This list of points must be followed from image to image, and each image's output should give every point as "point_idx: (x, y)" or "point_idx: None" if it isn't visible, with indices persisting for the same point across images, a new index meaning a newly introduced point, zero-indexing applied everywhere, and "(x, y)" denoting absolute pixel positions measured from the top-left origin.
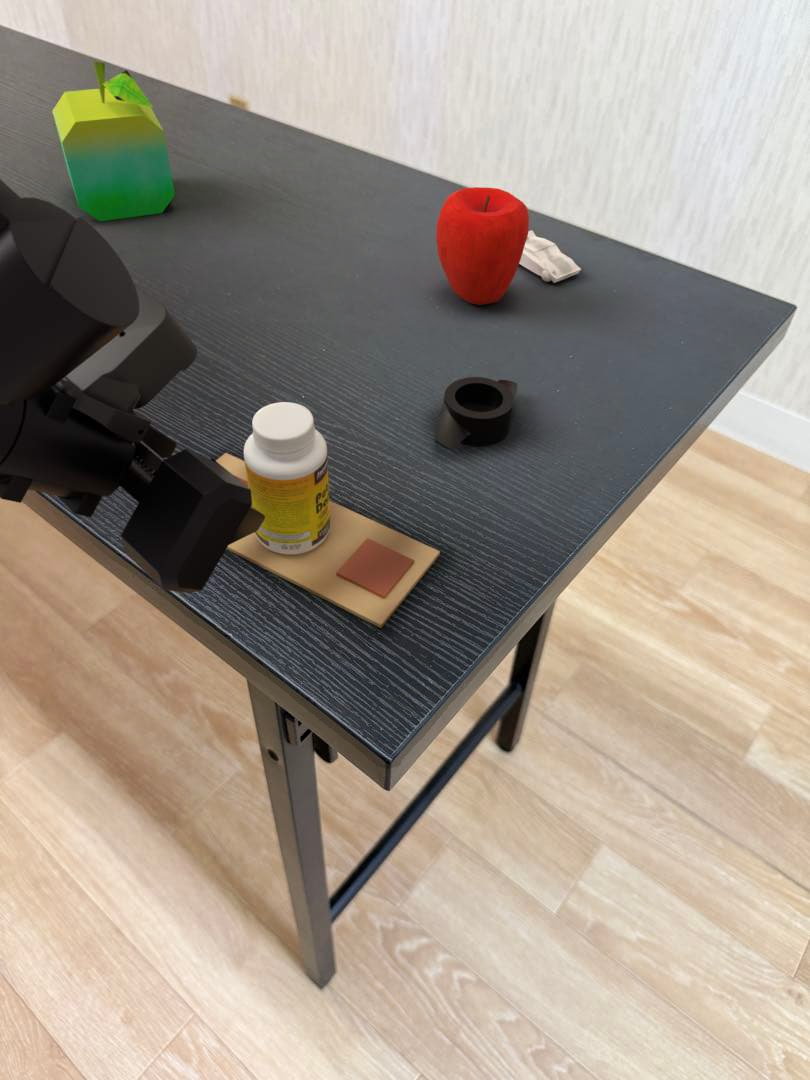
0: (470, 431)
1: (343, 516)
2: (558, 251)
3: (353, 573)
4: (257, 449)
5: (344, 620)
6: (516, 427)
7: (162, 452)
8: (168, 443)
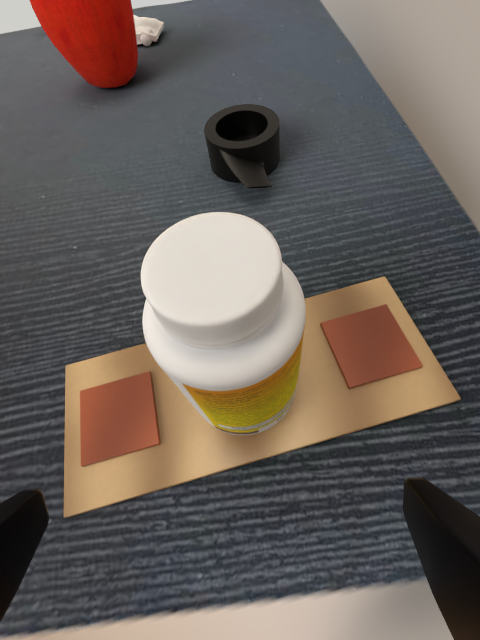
0: (262, 160)
1: None
2: (136, 17)
3: (365, 371)
4: (198, 350)
5: (419, 429)
6: None
7: (27, 542)
8: (22, 516)
